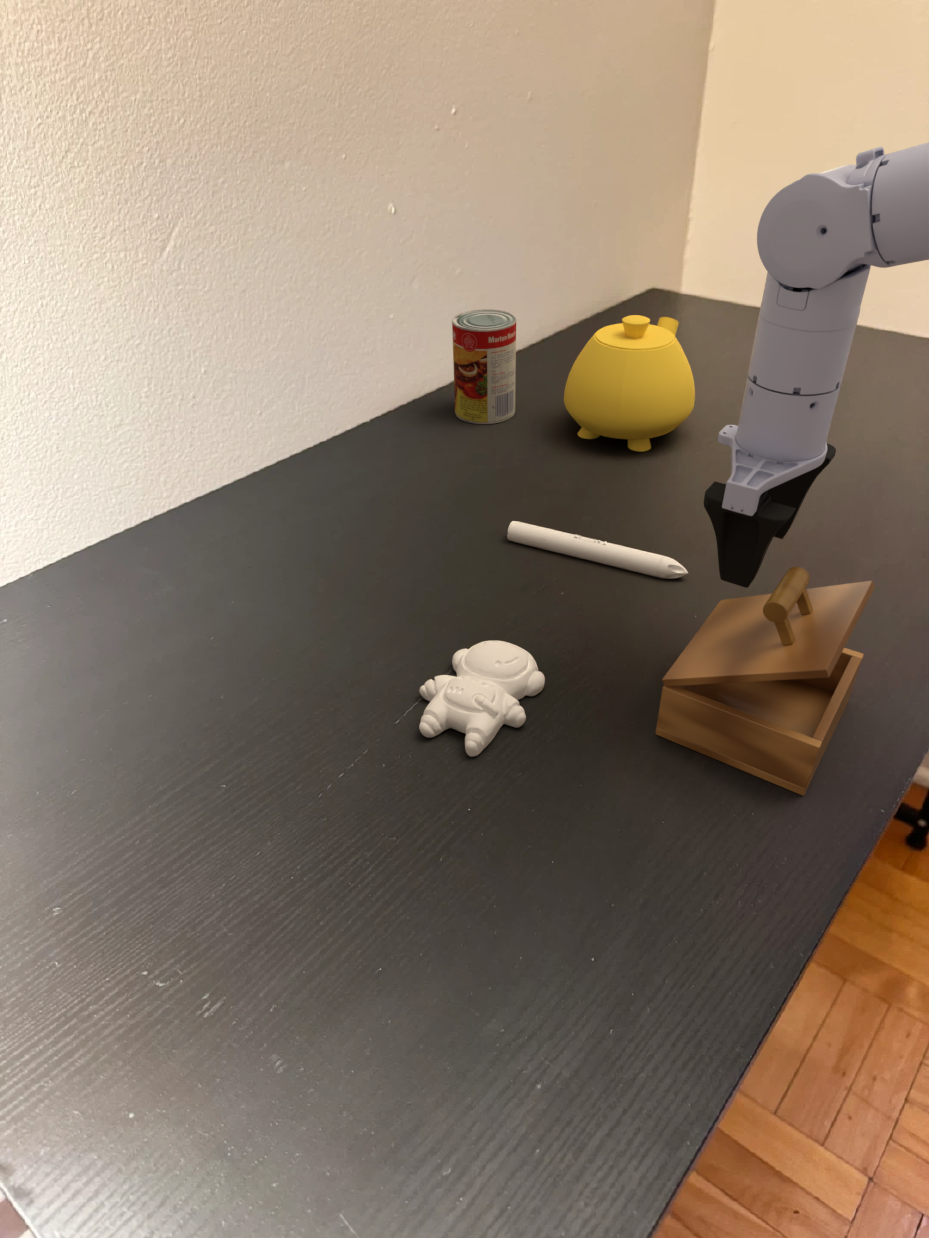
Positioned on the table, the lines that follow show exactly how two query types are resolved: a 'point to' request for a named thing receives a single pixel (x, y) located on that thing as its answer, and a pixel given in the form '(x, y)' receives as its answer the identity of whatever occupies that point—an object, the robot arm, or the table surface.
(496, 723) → the astronaut figurine
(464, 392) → the canned food
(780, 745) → the keepsake box
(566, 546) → the marker
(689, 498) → the table surface
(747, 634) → the brown piece
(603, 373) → the teapot
